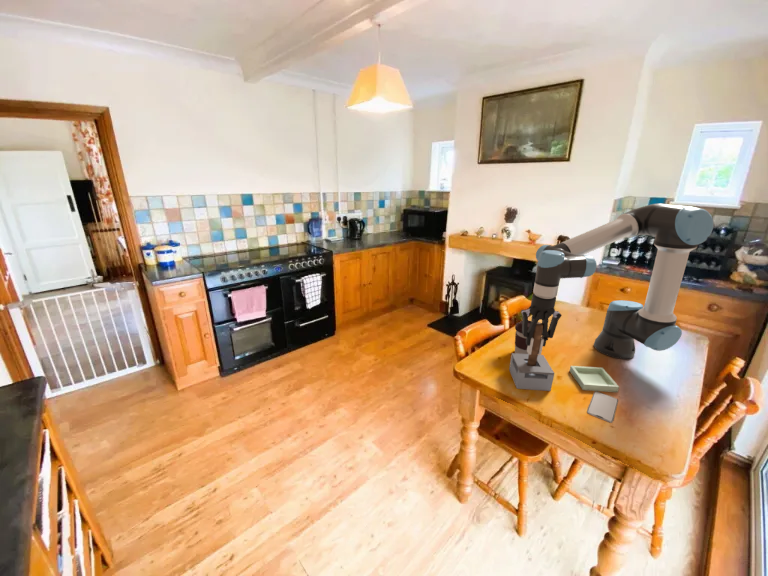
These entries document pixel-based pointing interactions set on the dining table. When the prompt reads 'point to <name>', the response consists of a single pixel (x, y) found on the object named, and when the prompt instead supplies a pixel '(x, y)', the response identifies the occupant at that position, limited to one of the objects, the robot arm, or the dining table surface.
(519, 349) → the coffee cup
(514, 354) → the grey slotted box
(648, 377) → the dining table surface
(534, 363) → the brown wooden bar
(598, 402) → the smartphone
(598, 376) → the tray
